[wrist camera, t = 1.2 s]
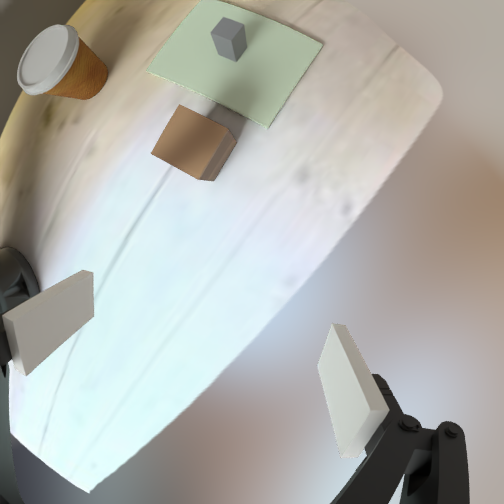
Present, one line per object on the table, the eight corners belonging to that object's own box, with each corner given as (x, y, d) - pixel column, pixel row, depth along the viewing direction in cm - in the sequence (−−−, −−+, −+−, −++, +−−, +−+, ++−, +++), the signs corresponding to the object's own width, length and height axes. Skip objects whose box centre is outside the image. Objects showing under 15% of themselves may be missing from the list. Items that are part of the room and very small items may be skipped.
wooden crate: (176, 160, 33) (150, 153, 25) (198, 122, 32) (179, 104, 24) (213, 181, 34) (198, 179, 25) (236, 142, 32) (228, 128, 24)
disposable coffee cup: (100, 42, 29) (57, 11, 17) (128, 74, 30) (83, 41, 19) (58, 87, 31) (8, 69, 19) (81, 123, 32) (26, 108, 20)
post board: (148, 73, 30) (127, 53, 24) (205, 0, 27) (195, -28, 21) (267, 129, 32) (268, 115, 25) (321, 47, 29) (333, 22, 22)
